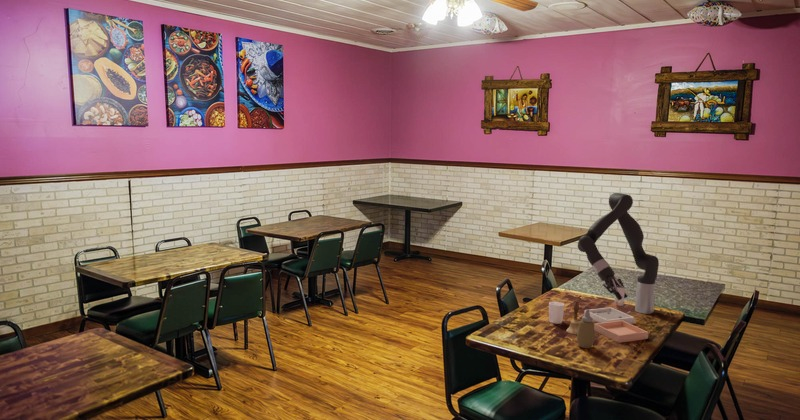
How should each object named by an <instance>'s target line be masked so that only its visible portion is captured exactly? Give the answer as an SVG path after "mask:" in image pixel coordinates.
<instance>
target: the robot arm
mask: <svg viewBox="0 0 800 420" xmlns="http://www.w3.org/2000/svg"><path fill="white" fill-rule="evenodd" d="M633 202H634V199H633V197H632V196H631V195H630V194H626V193H619V192H613V193H611V194H610V196H609V198H608V205H609V207H610V209H611V211H609V212H608V213H606V214H605V215H603V216H601V217H599V218H598V219H596V220H595V222H594V223H592V225H591V226H590V227H589V228H588V230H587V232H586V233H585V234H584V235H582V236H581V237H580V238H579V240H578V242H577V248H578V250H579V252H581V253H585V254H586V258H587V260H588V262H589V263H590V265H591V266H592V268H593V270H594V272H595V273H596V274H597V276H598V277H599V279H600V280H601V282H604V283H603V284H602V286H603V287H604V288H605V289H606V290H607V291H608V292H609V293H610V294H613V295H614V297H615V296H616V297H617V299H618V300H620V299H622V296H621V295H620V293H619V292H618V291H617V289H616V286H624V287H625V285H624V283H623V282H622V279H621V278H620V277H619V278H617V277H615V275H616V273H615V271H614V270H613V268H612V267H611V266H610V264H609V263H608V261H607V260H606V259H605V258H604V257H603V255H602V254H601V252H600V251H599V250H598V247H597V245H596V243H597V241H598V239H600V238H601V237H602V236H603V234H604V233H605V232H606V231H607V229H609V228H610V227H611V225H613V224H614V223H615V222H616V221H618V224H619V226H620V228H621V229H622V232H623V235H624V237H625V239H626V241H627V243H628V246H629V248H630V250H631V253H632V256H633V260H634V263H635V265H636V267H637V268H638V269H640V270H643V271H644V274H642V275H639V276H638V277H637V281H636V290H635V291H636V292H635V293H636V294H635V304H634V305H635V307H634V311H635V312H637V313H639V314H644V315H649V314H652V313H655V310H654V309H655V301H656V296H655V287H656V280H657V277H658V273H659V271H658V270H659V267H660V265H659V264H660V263H659V261H660V260H659V259H658V257H657V256H656V255H653V254H650V253H646V252H645V250H644V248H643V243H644V242H643V241H644V238H645V237H644V232H643V230H642V228H641V226H640V225H641V224H639V223H638V221H637V220H636V219H635V218H634V217H633V216H631V214H629V212H628V211H629V210H631V208H632V206H633V204H634V203H633ZM626 298H628V295H627V293H626V292H625V294H624V299H626Z"/></svg>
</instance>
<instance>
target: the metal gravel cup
mask: <svg viewBox="0 0 800 420" xmlns="http://www.w3.org/2000/svg"><path fill="white" fill-rule="evenodd" d="M616 289H617V291H618V292H619V293H620V295H621V296H622V299H620V300H618V299H617V297H616V296H615V295H614V303H613V304H614V305H615V306H621V307H622V306H624V304H625V298H624V294H625V293H626V292H625V291H626V286H625V285H624V286H618V285H617V286H616Z"/></svg>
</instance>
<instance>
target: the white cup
mask: <svg viewBox="0 0 800 420" xmlns="http://www.w3.org/2000/svg"><path fill="white" fill-rule="evenodd" d="M564 311H565V303H564V302H560V301H555V300H554V301H549V302H548V321H549V322H550V323H552V324H558V325H559V324H562V323H563V317H564Z"/></svg>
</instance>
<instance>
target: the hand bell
mask: <svg viewBox="0 0 800 420" xmlns="http://www.w3.org/2000/svg"><path fill="white" fill-rule="evenodd" d="M579 310H580V303H579V301H578V300H576V301H575V302H574V304H573V313H574V314H573V319H572V320H570V324H569V326H568V327H567V329H566V333H568V334H571V335H577V333H578V328H579V322H580V320H578V314H579Z"/></svg>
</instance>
